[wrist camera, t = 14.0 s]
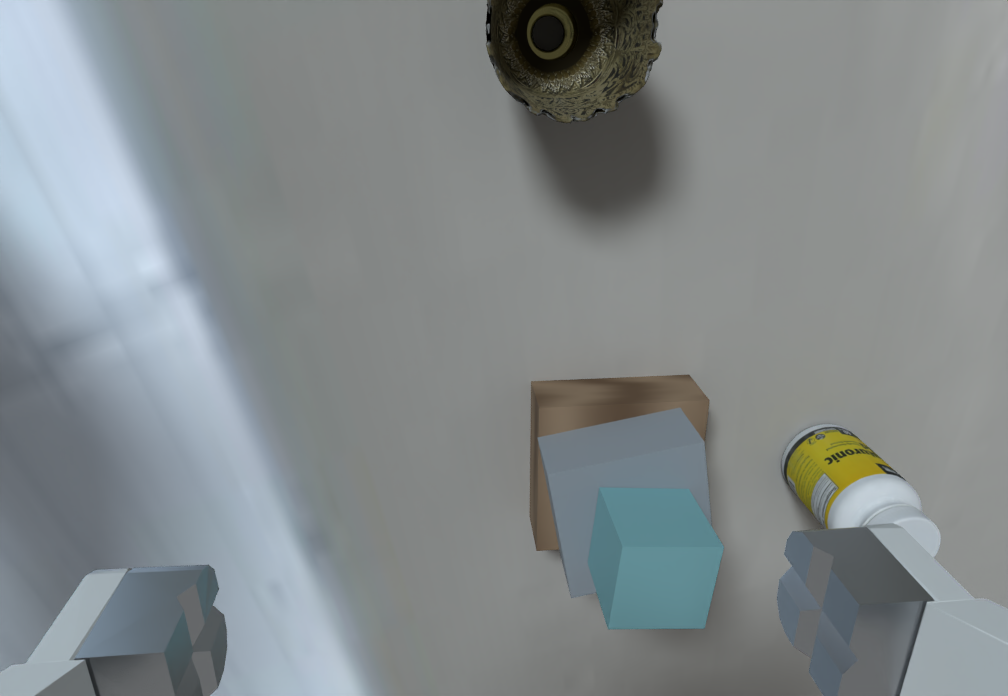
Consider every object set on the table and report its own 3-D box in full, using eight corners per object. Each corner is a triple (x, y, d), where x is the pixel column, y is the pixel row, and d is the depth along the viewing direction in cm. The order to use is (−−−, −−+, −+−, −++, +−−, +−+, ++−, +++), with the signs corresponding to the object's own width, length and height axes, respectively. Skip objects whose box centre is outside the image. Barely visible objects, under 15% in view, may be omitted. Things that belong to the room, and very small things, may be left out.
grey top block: (559, 553, 44) (571, 598, 41) (537, 437, 41) (547, 474, 37) (692, 525, 44) (715, 567, 41) (680, 407, 41) (704, 441, 37)
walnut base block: (528, 512, 48) (536, 550, 44) (530, 378, 44) (539, 407, 40) (673, 504, 49) (692, 541, 45) (686, 372, 45) (709, 400, 41)
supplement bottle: (868, 425, 47) (971, 512, 38) (839, 493, 49) (931, 592, 40) (793, 416, 46) (880, 503, 37) (767, 486, 48) (844, 585, 39)
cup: (611, 113, 38) (653, 126, 30) (473, 107, 37) (483, 120, 30) (626, -45, 35) (677, -72, 28) (478, -55, 34) (490, -85, 27)
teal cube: (587, 563, 40) (608, 629, 35) (599, 487, 38) (622, 546, 33) (673, 563, 40) (704, 628, 36) (688, 488, 38) (724, 547, 34)
